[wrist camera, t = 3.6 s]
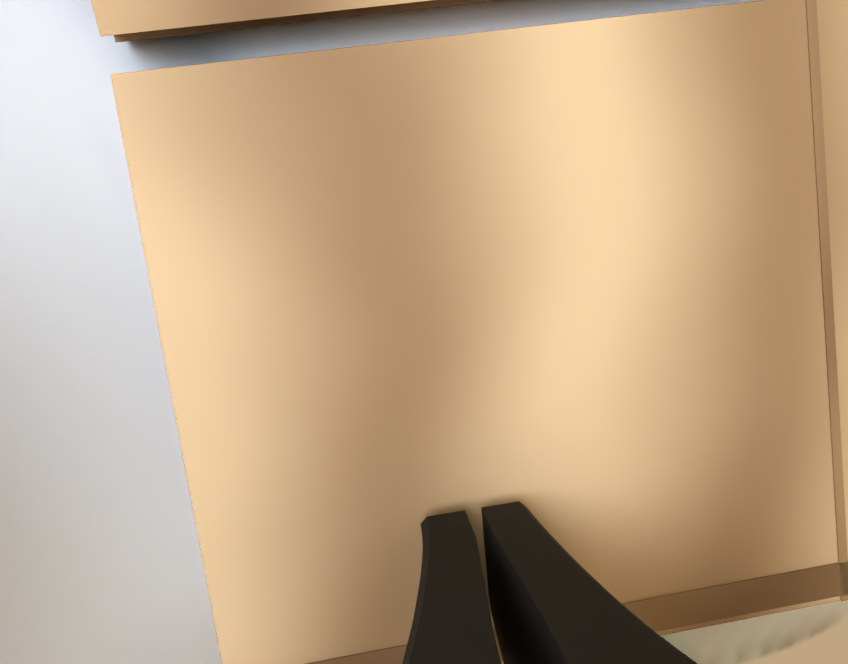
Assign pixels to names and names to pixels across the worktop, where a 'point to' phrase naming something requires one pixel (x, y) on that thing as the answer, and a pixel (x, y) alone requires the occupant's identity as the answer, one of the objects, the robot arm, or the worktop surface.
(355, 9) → the laid board
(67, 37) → the worktop surface
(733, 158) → the plank
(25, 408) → the worktop surface
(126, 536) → the worktop surface
